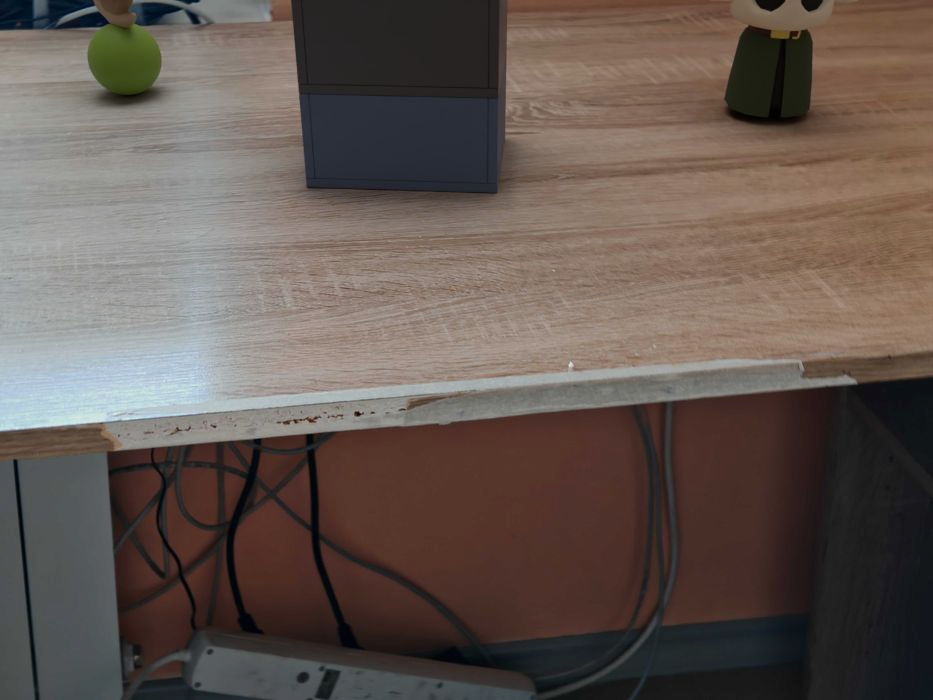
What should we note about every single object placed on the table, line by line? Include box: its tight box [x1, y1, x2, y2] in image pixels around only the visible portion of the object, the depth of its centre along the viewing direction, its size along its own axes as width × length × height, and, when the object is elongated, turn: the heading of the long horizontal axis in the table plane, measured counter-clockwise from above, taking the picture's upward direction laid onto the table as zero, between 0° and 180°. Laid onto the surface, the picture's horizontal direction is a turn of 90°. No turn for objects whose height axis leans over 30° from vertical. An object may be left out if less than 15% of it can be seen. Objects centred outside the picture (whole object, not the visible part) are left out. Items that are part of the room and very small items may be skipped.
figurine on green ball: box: [86, 0, 163, 96], centre depth 82 cm, size 5×6×12 cm
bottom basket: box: [298, 52, 508, 194], centre depth 70 cm, size 12×10×6 cm
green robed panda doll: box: [709, 0, 859, 119], centre depth 77 cm, size 11×7×13 cm, turn 87°
